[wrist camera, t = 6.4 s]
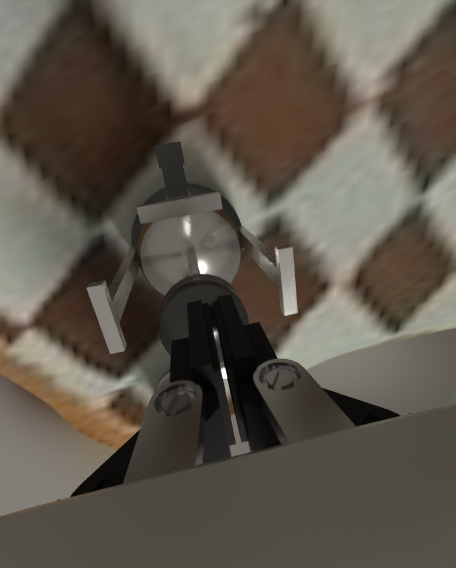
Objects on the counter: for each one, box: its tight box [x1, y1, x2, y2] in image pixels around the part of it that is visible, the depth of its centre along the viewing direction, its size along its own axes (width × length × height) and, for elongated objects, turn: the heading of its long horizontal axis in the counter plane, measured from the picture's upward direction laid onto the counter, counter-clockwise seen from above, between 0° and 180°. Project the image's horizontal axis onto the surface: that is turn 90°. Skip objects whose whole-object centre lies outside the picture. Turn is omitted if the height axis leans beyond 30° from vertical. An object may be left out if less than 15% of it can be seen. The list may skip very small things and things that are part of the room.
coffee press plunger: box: [140, 211, 249, 363], centre depth 17 cm, size 7×7×11 cm
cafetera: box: [87, 142, 297, 379], centre depth 21 cm, size 10×12×14 cm
